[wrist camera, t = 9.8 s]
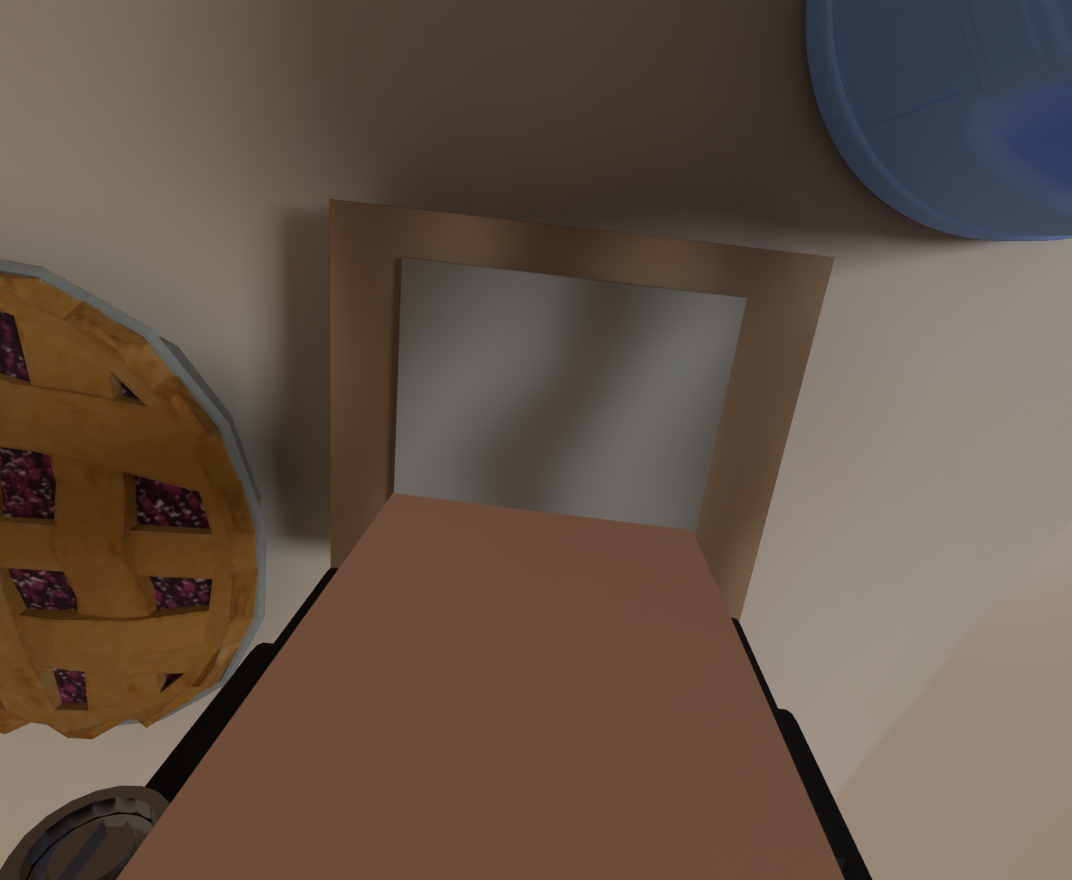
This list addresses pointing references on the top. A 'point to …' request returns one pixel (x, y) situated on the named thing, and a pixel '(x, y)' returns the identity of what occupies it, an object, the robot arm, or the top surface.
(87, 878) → the robot arm
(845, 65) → the water jug
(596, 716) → the terracotta block
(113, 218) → the top surface
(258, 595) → the pie
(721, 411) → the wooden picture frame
